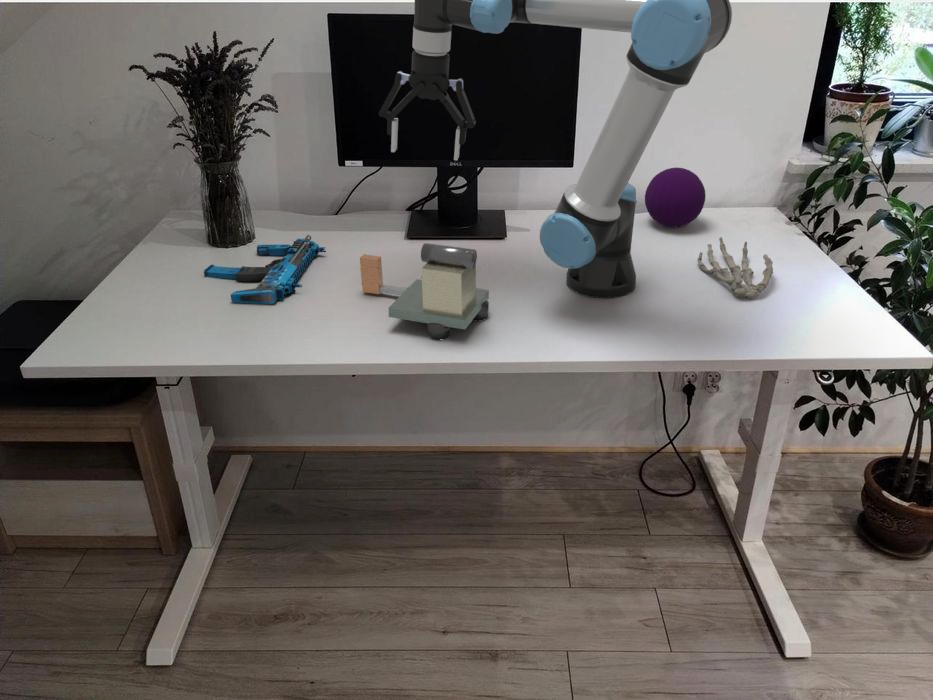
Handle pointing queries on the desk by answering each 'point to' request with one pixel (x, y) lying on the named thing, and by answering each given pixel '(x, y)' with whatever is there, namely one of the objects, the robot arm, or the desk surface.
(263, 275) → the submachine gun
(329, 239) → the desk surface
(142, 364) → the desk surface
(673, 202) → the toy ball
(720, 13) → the robot arm
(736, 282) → the skeleton model
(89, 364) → the desk surface
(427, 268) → the footed square platform
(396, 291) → the footscrew lever
